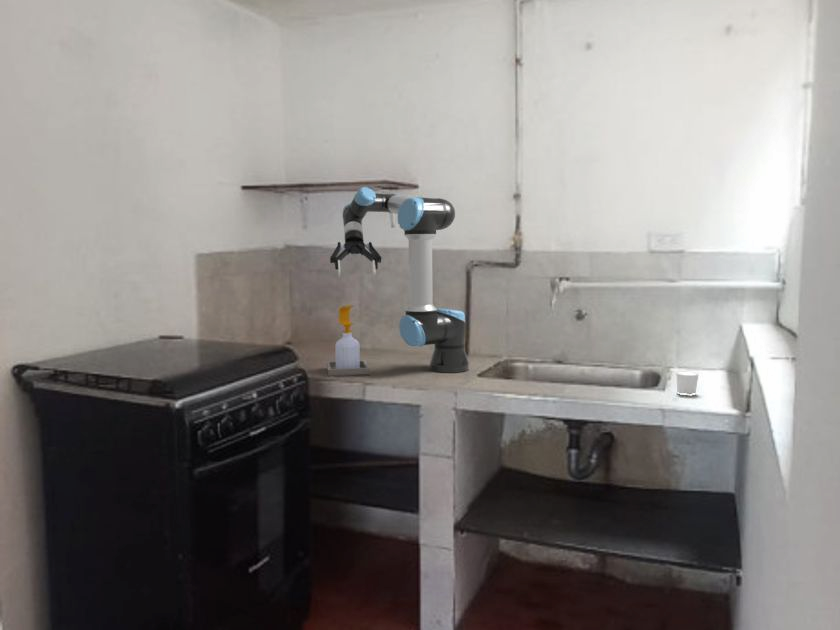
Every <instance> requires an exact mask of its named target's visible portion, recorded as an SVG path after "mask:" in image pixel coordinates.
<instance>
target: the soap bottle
mask: <svg viewBox="0 0 840 630" xmlns="http://www.w3.org/2000/svg"><path fill="white" fill-rule="evenodd" d="M353 307H354V305H343V306H341V307H339V309H338V319H339V320H338V322H339V324H340V325H342V326H343V328H344V330H343V331H342V337H341V338H339V339H338V340H337V341H336V342H335V345H334V346H335V351H334V352H335V361H336V369H350V368H360V361H361V358H360V357H361V353H360V350H361V349H360V342H359V341H358V340H357V339H356V338H354V337H353V331H352V330H350V328H351V327H352V326H354V325H355V323H353V322H351V319H350V310H351V309H352V308H353Z"/></svg>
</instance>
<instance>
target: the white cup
mask: <svg viewBox="0 0 840 630" xmlns="http://www.w3.org/2000/svg"><path fill="white" fill-rule="evenodd" d="M675 374H676V393H677V392H679V393H687V394H692V393H697V386H698V380H699V373H697V372H694V371H677V372H676V373H675Z"/></svg>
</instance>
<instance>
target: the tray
mask: <svg viewBox="0 0 840 630" xmlns="http://www.w3.org/2000/svg"><path fill="white" fill-rule="evenodd" d="M370 369H371V368H370V367H369V364H368V363H367V361H366V360H360V368H350V369H336V360H335V361H334V360H333V361H331V360H330V361H326V371H327V376H328V377H329V376H335V377H358V376H359V377H360V376H361V377H363V375H367V376H370V374H371V373H370V371H371V370H370Z"/></svg>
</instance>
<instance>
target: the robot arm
mask: <svg viewBox="0 0 840 630" xmlns="http://www.w3.org/2000/svg"><path fill="white" fill-rule="evenodd" d="M368 212H371V213H373V212H374V213H376V212H377V213H378V212H379V213H389V214H394V215H395V214H396V215H397V224H398V225H399V228H400V229H401V230H403V231H404V233H403V234H404V236H405V238H407V240H408V268H409V269H408V281H409V282H408V283H409V284H408V286H409V288H408V291H409V294H408V296H409V297H408V298H409V299H408V300H409V305H408V306H407V307H406V308H405V315H404V316H402V317H401V318H400V320H399V322H398V323H399V324H398V329H399V330H398V331H399V335H400V336H401V338H402V340H403V341H404V343H406V345H408V346H410V347H423V346H429V345H434V348H433V353H432V355H431V359H430V361H429V370H430V371H433V372H437V373H462V372H466V371H469V370H470V363H469V358H468V356H467V353H466V349H465V345H466V315H465V312H464V311H462V310H456V309H448V308H438V307H437V308H436V307H435V305H434V303H433V299H434V297H433V296H434V295H433V291H434V290H433V288H434V287H433V284H434V282H433V240H434V238H435V237H436V236H437V231H442V230H445V229H447V228H448V227H449V228H450V226H451V225H452V224H453V223H454V220H455V218H456V211H455V207H454V206H453V204H452V203H451V202H450V201H448V200H447V199H444V198H439V197H438V198H433V197H432V198H430V197H419V196H417V197H408V196H402V195H399V194H396V193H378V192H377V193H375V191H374V190H373V189H371V188H368V187H367V186H362V187H360V188H359V190H358V191H357V192H356V193H355V194H354V196H353V199H352V201H351V203H347V204H346V205H345V206H344V207H343V209H342V221H343V230H344V231H343V232H344V233H343V234H344V235H343V236H344V243H341V242H340V241H337V246H336V248H335V249H334V251H333V253H332V254H331V256H330V257H329V258H330V260H329V263H330V264H334V269H335V270H337V272H338V273H337V275H338V278H341V276H342V271H341V269H342V268H341V261H343V260H344V259H345V258H346V256H348V255H349V254H351V255H361V256H364V258H366V259H368V260H369V261H370V262H371V263H372V264H371V266H372V277H374V278H375V277H376V276H377V275H376V274H377V270H378V269H379V268H378V267H379V264H381V263H382V257H381V255H380V253H379V252H378V251H377V250H376V248H375V247H374V246H373V243H372V242H371V241H369V242H368V243H365V241H364V232H363V219H364V217H366V215H367V213H368ZM343 248H344V250H342V249H343ZM341 250H342V251H341ZM378 263H379V264H378Z"/></svg>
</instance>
